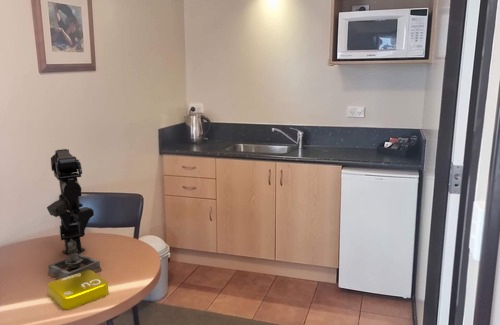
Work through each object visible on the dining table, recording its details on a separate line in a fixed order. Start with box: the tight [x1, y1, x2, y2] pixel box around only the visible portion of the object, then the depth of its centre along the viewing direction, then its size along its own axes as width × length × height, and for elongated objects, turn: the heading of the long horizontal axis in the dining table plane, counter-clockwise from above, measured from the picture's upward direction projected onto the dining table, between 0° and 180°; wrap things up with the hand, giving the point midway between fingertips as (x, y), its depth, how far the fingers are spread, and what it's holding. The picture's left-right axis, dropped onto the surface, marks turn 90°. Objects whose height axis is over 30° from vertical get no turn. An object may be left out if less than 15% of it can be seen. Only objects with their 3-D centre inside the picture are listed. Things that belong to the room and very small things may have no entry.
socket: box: [47, 253, 102, 280], centre depth 159 cm, size 13×13×4 cm
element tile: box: [47, 270, 109, 311], centre depth 144 cm, size 15×15×5 cm
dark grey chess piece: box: [65, 239, 83, 272], centre depth 158 cm, size 6×6×12 cm
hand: (74, 231), depth 164 cm, fingers open, 9 cm apart
